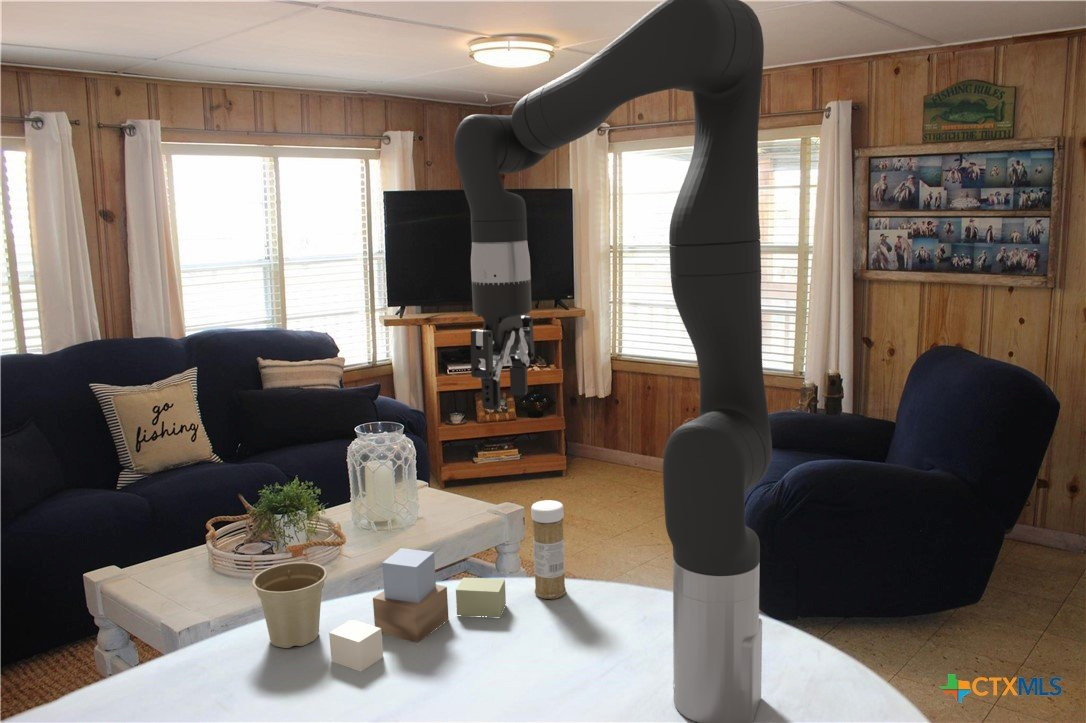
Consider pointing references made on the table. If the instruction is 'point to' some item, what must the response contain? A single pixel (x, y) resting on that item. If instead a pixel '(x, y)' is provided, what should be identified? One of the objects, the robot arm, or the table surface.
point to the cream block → (356, 645)
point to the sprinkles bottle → (548, 549)
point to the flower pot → (291, 601)
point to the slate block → (409, 575)
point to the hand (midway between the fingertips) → (506, 401)
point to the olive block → (480, 597)
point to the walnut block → (411, 615)
